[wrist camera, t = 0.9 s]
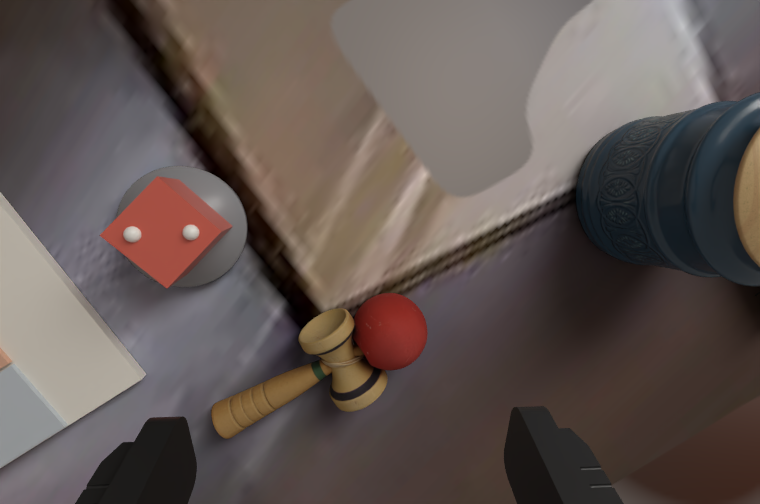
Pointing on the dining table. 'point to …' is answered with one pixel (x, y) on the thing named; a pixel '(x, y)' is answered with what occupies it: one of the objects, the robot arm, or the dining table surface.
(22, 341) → the game board
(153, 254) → the red die
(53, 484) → the dining table surface
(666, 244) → the canister
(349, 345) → the kendama
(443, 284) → the dining table surface
